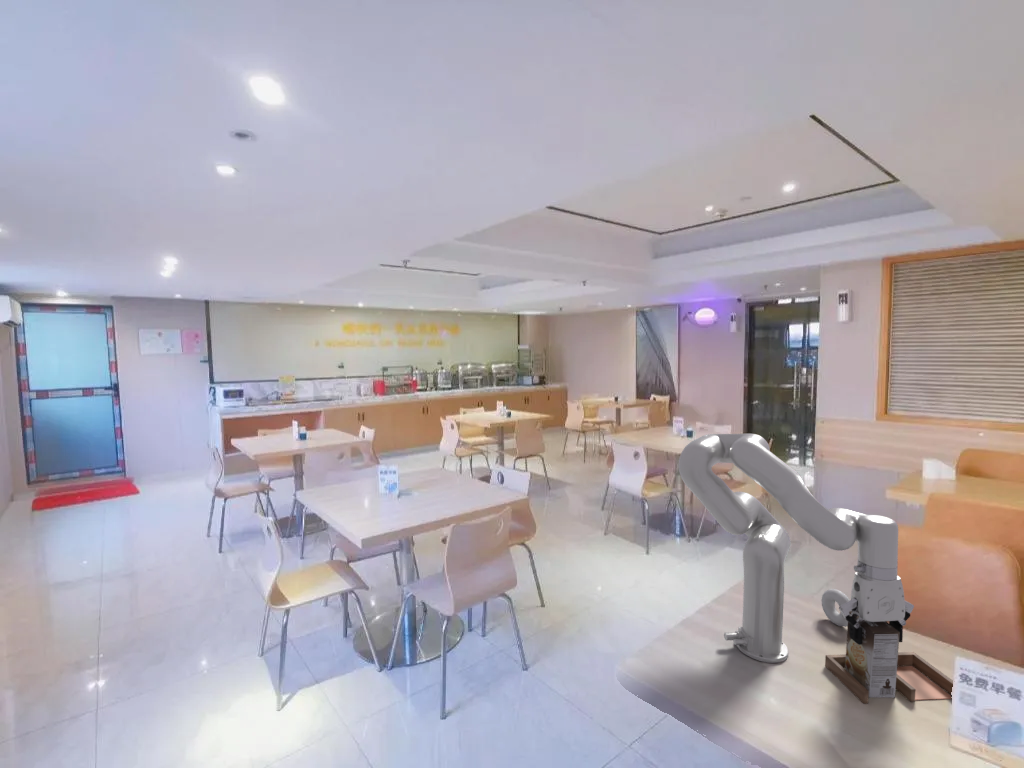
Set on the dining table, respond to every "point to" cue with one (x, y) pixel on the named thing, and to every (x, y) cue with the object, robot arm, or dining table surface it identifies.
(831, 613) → the donut
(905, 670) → the rack
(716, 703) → the dining table surface
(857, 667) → the coffee box
